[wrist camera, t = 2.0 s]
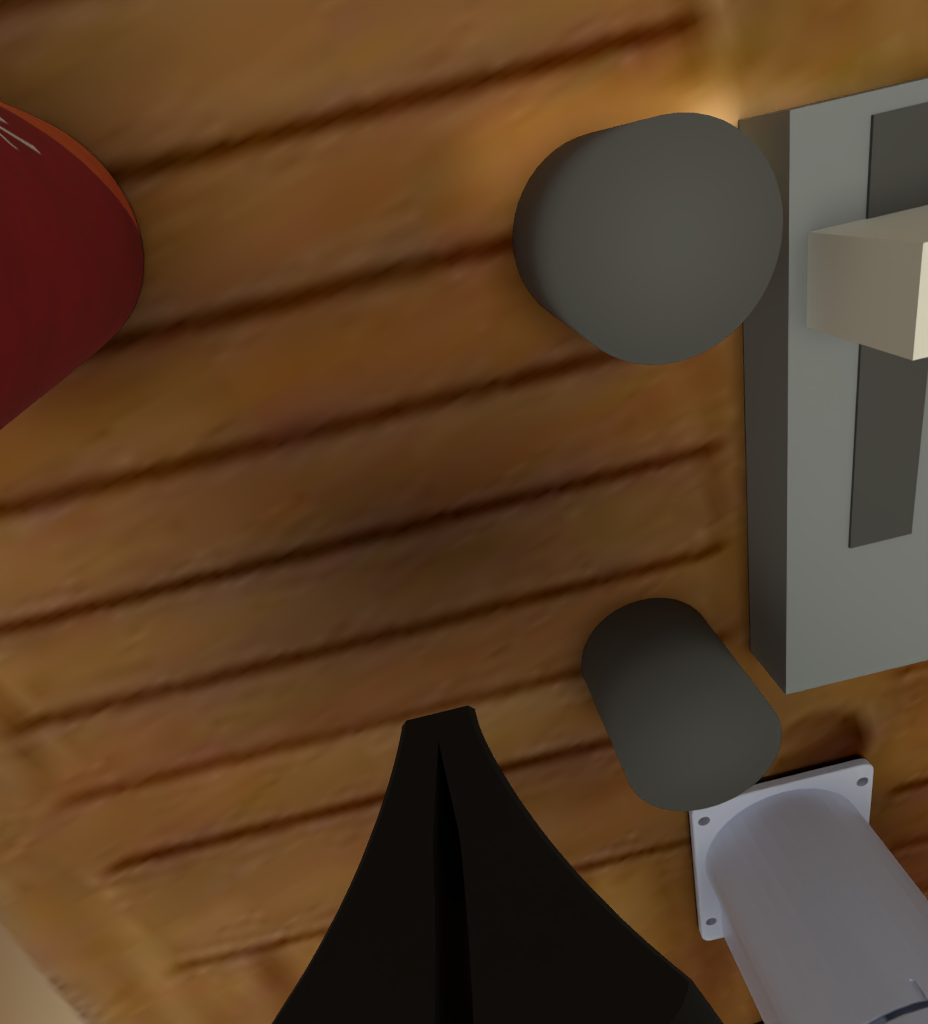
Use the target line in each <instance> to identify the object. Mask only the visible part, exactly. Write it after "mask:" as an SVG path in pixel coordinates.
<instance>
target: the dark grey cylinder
mask: <svg viewBox="0 0 928 1024" xmlns="http://www.w3.org/2000/svg"><path fill="white" fill-rule="evenodd" d="M582 672H583V676H584V679H585V681H586V683H587V686H588V688H589V690H590V693H591V695H592V697H593V700H594V702H595V704H596V707H597V709H598V711H599V714H600V716H601V718H602V721H603V723H604V725H605V728H606V730H607V733H608V735H609V737H610V740H611V742H612V744H613V747H614V749H615V751H616V754H617V756H618V758H619V761H620V763H621V765H622V768H623V770H624V772H625V775H626V777H627V779H628V782H629V784H630V786H631V788H632V789H633V791H634V792H635V793H636V794H637V795H638V796H639V797H640V798H641V799H643V800H644V801H645V802H647V803H649V804H651V805H653V806H656V807H659V808H662V809H666V810H672V811H694V810H701V809H706V808H710V807H713V806H716V805H719V804H722V803H724V802H727V801H729V800H731V799H733V798H735V797H737V796H738V795H740V794H742V793H743V792H745V791H746V790H748V789H749V788H750V787H752V786H753V785H754V784H755V783H756V782H757V781H758V780H760V779H761V777H762V776H763V775H764V774H765V773H766V772H767V770H768V769H769V768H770V766H771V765H772V763H773V762H774V760H775V758H776V756H777V753H778V751H779V748H780V744H781V737H782V731H781V724H780V720H779V718H778V716H777V714H776V712H775V711H774V709H773V708H772V707H771V705H770V704H769V703H768V701H767V700H766V699H765V697H764V696H763V695H762V694H761V692H760V691H759V690H758V688H757V687H756V686H755V684H754V683H753V682H752V680H751V679H750V678H749V677H748V675H747V674H746V673H745V671H744V670H743V669H742V667H741V666H740V665H739V664H738V662H737V661H736V660H735V658H734V657H733V656H732V654H731V653H730V652H729V650H728V649H727V648H726V647H725V645H724V644H723V643H722V641H721V640H720V639H719V637H718V636H717V635H716V634H715V632H714V631H713V630H712V628H711V627H710V626H709V624H708V623H707V622H706V620H705V619H704V618H703V617H702V615H701V614H700V613H699V612H698V611H697V610H696V609H694V608H693V607H691V606H690V605H688V604H686V603H684V602H681V601H678V600H674V599H668V598H651V599H645V600H640V601H637V602H633V603H631V604H628V605H626V606H623V607H622V608H620V609H618V610H616V611H615V612H613V613H612V614H610V615H609V616H607V617H606V618H605V619H604V620H603V621H602V622H601V623H600V624H599V625H598V626H597V627H596V628H595V630H594V631H593V632H592V634H591V635H590V637H589V639H588V641H587V643H586V645H585V648H584V651H583V655H582Z"/></svg>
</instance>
